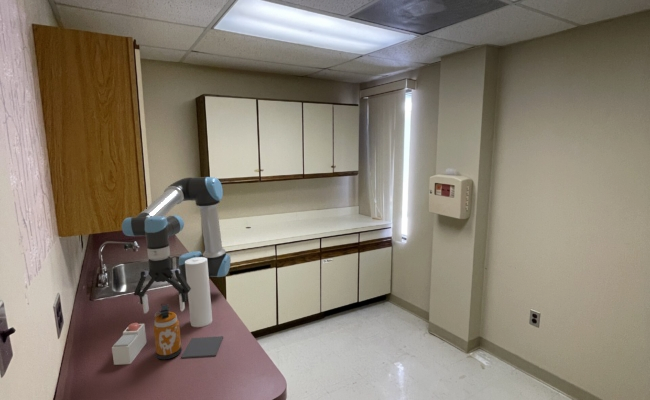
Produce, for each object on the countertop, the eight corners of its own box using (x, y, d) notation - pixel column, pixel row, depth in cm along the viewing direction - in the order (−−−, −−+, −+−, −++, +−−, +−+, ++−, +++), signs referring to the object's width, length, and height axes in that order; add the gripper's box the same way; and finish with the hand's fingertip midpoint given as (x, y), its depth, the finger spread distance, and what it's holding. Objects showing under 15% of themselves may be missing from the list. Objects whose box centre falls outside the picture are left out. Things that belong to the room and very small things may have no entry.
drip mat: (191, 339, 145) (191, 338, 145) (223, 337, 146) (223, 336, 146) (181, 358, 132) (181, 356, 132) (215, 356, 133) (215, 354, 133)
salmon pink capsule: (133, 341, 142) (131, 322, 140) (142, 340, 142) (140, 322, 141) (128, 346, 138) (126, 327, 137) (138, 345, 138) (135, 327, 137)
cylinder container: (205, 328, 154) (199, 263, 149) (186, 326, 156) (180, 262, 151) (216, 317, 163) (211, 256, 158) (198, 316, 165) (192, 255, 160)
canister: (156, 363, 129) (150, 313, 126) (157, 347, 139) (152, 301, 136) (182, 357, 133) (177, 308, 130) (181, 342, 143) (176, 296, 140)
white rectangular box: (132, 343, 143) (129, 324, 142) (147, 342, 143) (144, 323, 142) (114, 364, 129) (111, 343, 128) (130, 363, 130) (128, 342, 128)
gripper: (119, 262, 125) (126, 317, 129) (190, 259, 127) (194, 313, 130) (129, 255, 133) (135, 307, 136) (196, 253, 134) (200, 304, 138)
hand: (164, 310), depth 133 cm, fingers open, 13 cm apart
